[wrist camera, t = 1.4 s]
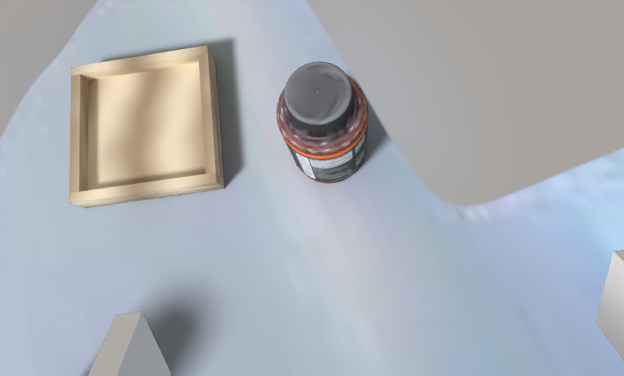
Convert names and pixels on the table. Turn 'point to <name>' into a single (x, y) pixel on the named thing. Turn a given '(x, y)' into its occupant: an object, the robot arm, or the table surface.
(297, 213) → the table surface
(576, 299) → the table surface
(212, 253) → the table surface
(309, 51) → the table surface
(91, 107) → the birch tray
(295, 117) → the supplement bottle
